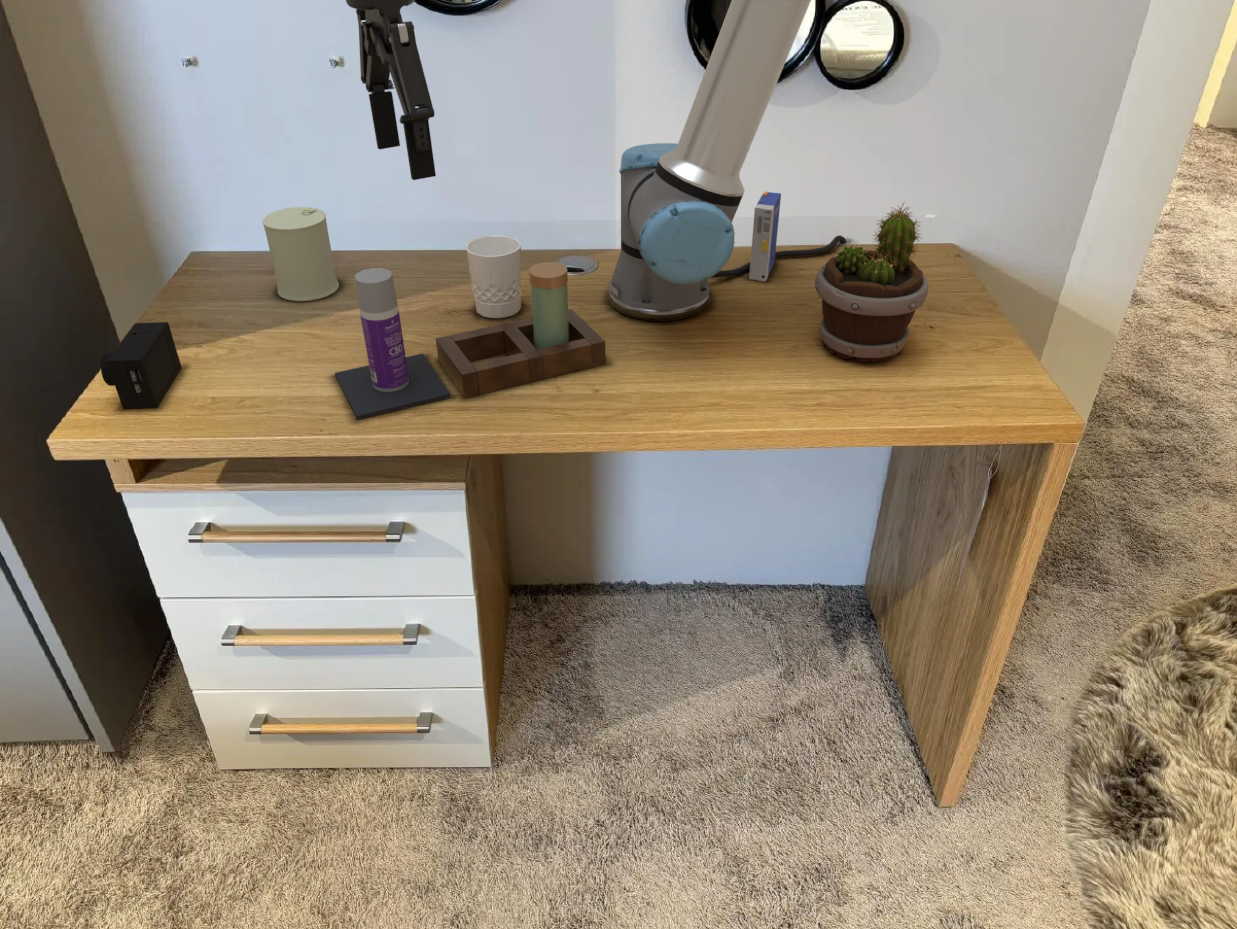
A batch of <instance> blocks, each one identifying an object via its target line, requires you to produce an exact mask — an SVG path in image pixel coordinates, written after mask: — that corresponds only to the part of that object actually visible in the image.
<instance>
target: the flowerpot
mask: <svg viewBox="0 0 1237 929" xmlns="http://www.w3.org/2000/svg"><path fill="white" fill-rule="evenodd" d="M904 204H905V202H903V203H902V204H901V206H899V205H897V207H898V209H897V208H895V207H893V206H892V207H891V206H890V208H891V209H894V210H891V211H890V212H887V213H885V214H886V215H887V216H886V215H884V218H881V219H877V220H876V221H877V222H876V224H875V225H876V226H878V227H877V228H876V231H874V233H875V234H873V236H874V238H872V239H873V242H872V243H873V244H874V243H875V242H876V243H877V244H874V246H875V247H873V249H871V247H868V248H869V249H864V248H863V247H864V245H862V246H858V243H857V241H854V244H851V243H849V245H850V247H849V246H846V245H845V243H842V244H843V248H840V250H839V252H838V253H837V255H835V256H833V257H831V258H830V259H829V260H827V261H826V263H825V264H823V265H822V267H821V268H819V270H818V271H817V273H816V275H815V279H814V289H815V292H816V293H817V295H818V296H819V297H820V298H821V311H822V318H821V320H820V323H819V332H818V335H819V337H821V339H822V341H823V343H824V344H825V346H826V349H827V350H828V351H829V352H830V353H832V354H835V355H836V356H837V357H839V358H840V359H852V358H855V360H856V361H857V362H858V363H861V364H863V363H864V364H865V363H869V362H871V363H881V362H882V363H883V362H884V361H888V360H892V359H893V358H894V357H895V356H896V355H897V354H898V353H899V352H900V351H901V350H903V348H904V347H905V345H906V343H907V341H908V339H909V336H910V328H909V327H908V326H909V325H910V324H911V321H912V319H913V318H914V315H915V313H916V310H918V309H919V308H921V307H922V306H923V305H924V304H925V302H926V299H927V297H928V293H929V281H928V279H927V278H926V277H925V275H924V272H923V270H922V269H920V268H919V267H918V266H917V264H916V263H915V262H914V259H913V258H914V256H916V255H917V254H916V253H917V252H918V251H920V250H919V249H918V248H919V247H920V246H919V245H918V244H919V242H917V241H919V239H921V238H922V236H920V235H922V234H921V233H920V230H921V229H919V228H921V225H920V223H921V221H918V220H917V218H915V220H913V219H912V217H913V216H914V214H913V213H912V212H913V211H910V212H908V211H909V209H910V208H912V207H910V206H906V207H905V208H904V209H903V207H904ZM902 209H903V210H902ZM918 227H919V228H918ZM842 244H840V246H839V247H841V246H842ZM917 245H918V246H917ZM913 255H914V256H913Z"/></svg>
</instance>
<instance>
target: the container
mask: <svg viewBox="0 0 1237 929" xmlns="http://www.w3.org/2000/svg"><path fill="white" fill-rule="evenodd" d="M393 276H394V275H393V272H392V271H391V270H390V269H387V268H385V267H384V268H383V267H373V268H371V267H370V268H366V269H363V270H361V271H359V272H357V273H356V274H355V275H354V281H355V289H356V294H357V295H356V296H357V302H358V309H359V316H360V321H361V322H360V323H361V328H362V333H363V338H364V344H365V348H366V356H367V361H368V365H369V368H370V373H371V379H372V384H373V387H374V388H375V389H376V390H378V391H382V392H393V391H398V390H401V389H403V388H404V387H406V386H407V385H408V383H409V376H408V370H407V363H406V357H407V356H406V350H405V343H404V336H403V330H402V322H401V317H400V316H401V315H400V309H399V303H398V298H397V293H396V292H397V291H396V287H395V282H394V277H393Z"/></svg>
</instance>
